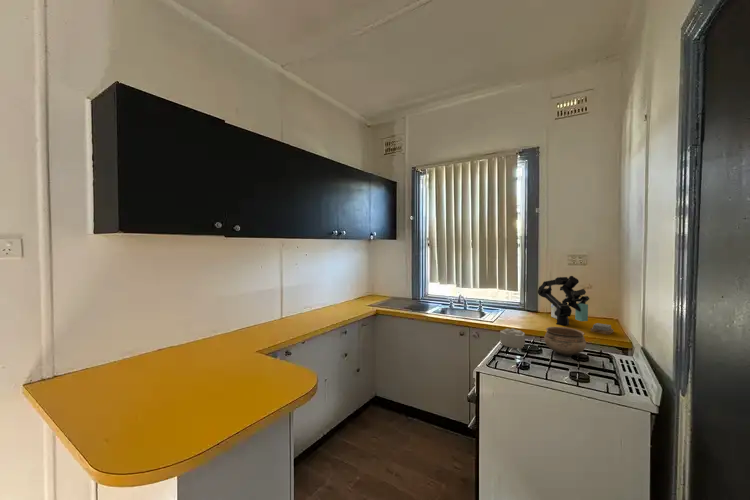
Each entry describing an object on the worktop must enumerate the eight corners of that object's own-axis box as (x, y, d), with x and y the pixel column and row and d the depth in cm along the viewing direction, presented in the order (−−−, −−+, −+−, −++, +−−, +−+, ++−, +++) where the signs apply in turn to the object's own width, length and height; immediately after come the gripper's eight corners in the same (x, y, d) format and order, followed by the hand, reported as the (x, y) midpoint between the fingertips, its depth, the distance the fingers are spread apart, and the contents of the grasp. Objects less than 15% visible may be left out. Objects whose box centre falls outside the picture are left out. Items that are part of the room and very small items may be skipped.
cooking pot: (584, 365, 149) (585, 340, 149) (540, 356, 160) (540, 333, 160) (586, 350, 169) (587, 328, 169) (547, 344, 181) (547, 323, 180)
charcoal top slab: (593, 328, 207) (593, 324, 207) (596, 326, 212) (596, 322, 212) (607, 331, 201) (607, 327, 201) (611, 329, 206) (611, 325, 206)
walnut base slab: (590, 332, 207) (590, 328, 207) (595, 329, 213) (595, 326, 213) (608, 335, 199) (608, 331, 199) (613, 332, 206) (613, 329, 206)
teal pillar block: (575, 319, 211) (575, 303, 211) (580, 318, 212) (581, 303, 212) (581, 321, 206) (582, 305, 206) (587, 320, 208) (588, 304, 207)
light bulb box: (567, 319, 238) (567, 306, 238) (558, 319, 238) (558, 306, 238) (559, 316, 249) (559, 303, 249) (550, 316, 249) (550, 303, 249)
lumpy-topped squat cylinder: (523, 349, 172) (523, 333, 172) (498, 345, 179) (498, 330, 179) (525, 344, 181) (525, 329, 181) (501, 340, 188) (501, 326, 188)
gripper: (566, 285, 210) (580, 305, 200) (587, 284, 215) (602, 303, 205) (556, 295, 218) (569, 314, 207) (576, 293, 223) (591, 312, 213)
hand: (583, 310), depth 208 cm, fingers closed on teal pillar block, 5 cm apart
